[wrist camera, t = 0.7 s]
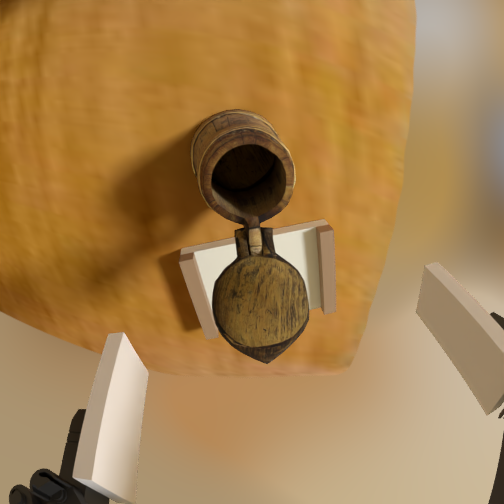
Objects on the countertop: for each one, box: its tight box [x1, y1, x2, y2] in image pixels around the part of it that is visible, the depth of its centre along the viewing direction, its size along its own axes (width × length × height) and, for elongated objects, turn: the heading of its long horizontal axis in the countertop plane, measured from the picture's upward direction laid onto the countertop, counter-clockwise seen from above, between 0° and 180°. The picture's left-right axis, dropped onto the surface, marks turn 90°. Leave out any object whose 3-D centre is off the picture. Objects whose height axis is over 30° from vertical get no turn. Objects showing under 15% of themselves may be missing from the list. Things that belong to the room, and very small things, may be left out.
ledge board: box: [179, 219, 336, 340], centre depth 34 cm, size 11×16×3 cm
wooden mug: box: [190, 109, 309, 364], centre depth 22 cm, size 9×14×18 cm, turn 2°
